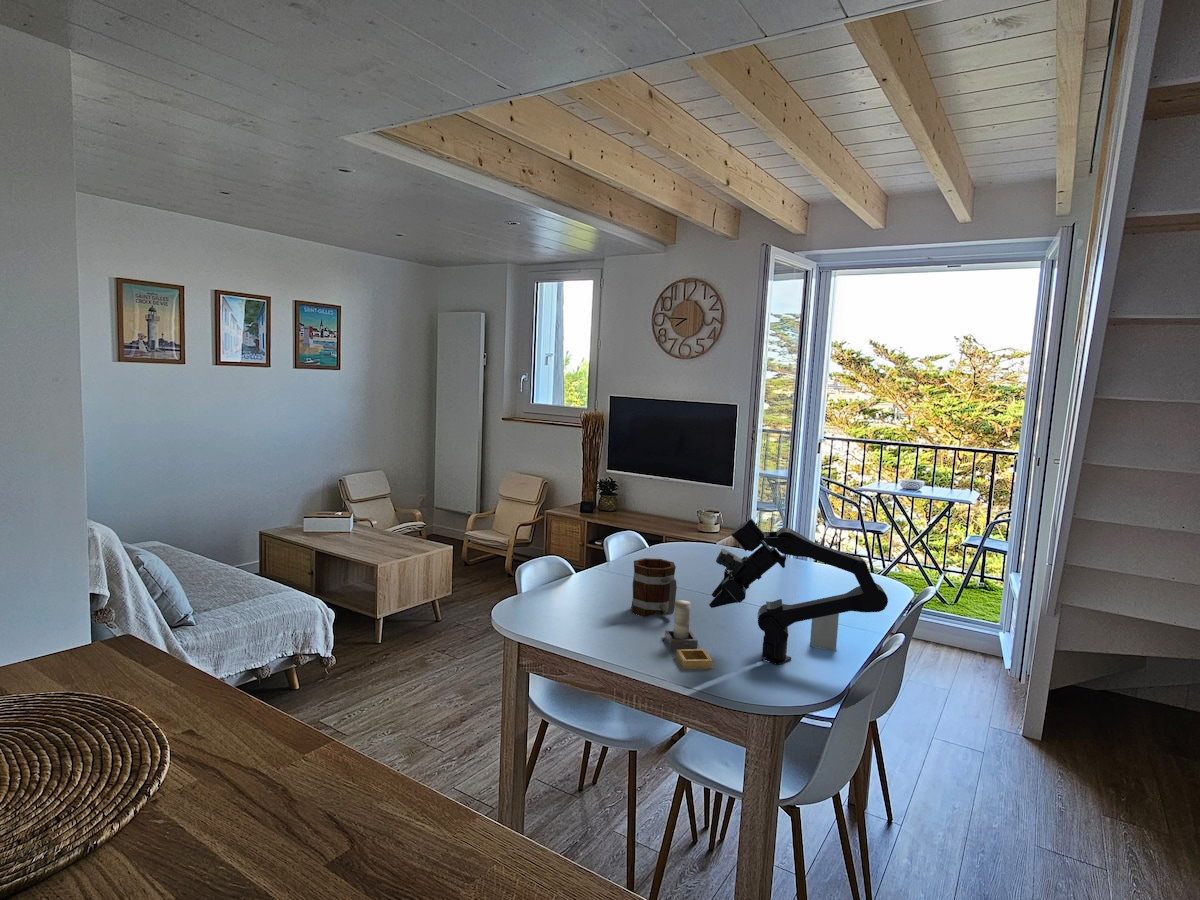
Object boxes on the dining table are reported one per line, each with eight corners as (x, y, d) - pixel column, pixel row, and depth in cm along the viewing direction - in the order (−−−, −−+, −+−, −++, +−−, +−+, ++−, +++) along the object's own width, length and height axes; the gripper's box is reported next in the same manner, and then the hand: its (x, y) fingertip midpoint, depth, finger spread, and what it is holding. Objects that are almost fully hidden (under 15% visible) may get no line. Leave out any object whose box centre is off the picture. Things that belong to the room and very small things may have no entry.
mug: (622, 606, 218) (625, 559, 216) (660, 602, 223) (663, 556, 222) (651, 627, 200) (654, 576, 198) (692, 623, 205) (695, 573, 204)
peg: (680, 638, 189) (682, 599, 188) (691, 643, 186) (693, 603, 185) (670, 641, 186) (672, 602, 185) (681, 646, 183) (683, 606, 182)
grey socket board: (660, 641, 189) (661, 630, 189) (692, 641, 190) (693, 630, 190) (679, 674, 168) (680, 661, 168) (715, 673, 170) (716, 660, 169)
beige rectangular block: (835, 650, 188) (838, 614, 187) (809, 646, 191) (812, 610, 190) (836, 646, 192) (839, 610, 191) (810, 641, 194) (813, 607, 193)
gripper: (737, 533, 189) (694, 568, 193) (734, 548, 171) (687, 587, 175) (764, 564, 188) (721, 599, 192) (765, 583, 170) (717, 621, 174)
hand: (711, 601), depth 183 cm, fingers open, 9 cm apart
